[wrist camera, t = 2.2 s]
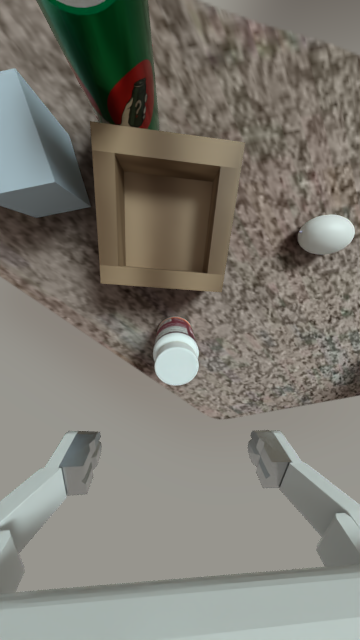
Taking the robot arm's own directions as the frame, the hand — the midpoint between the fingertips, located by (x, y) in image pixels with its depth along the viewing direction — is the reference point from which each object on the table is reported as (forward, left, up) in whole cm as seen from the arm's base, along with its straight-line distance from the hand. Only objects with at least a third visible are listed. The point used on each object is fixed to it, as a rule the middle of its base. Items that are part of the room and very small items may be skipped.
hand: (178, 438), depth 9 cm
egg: (-15, -13, -15) cm, 25 cm away
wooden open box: (+2, -12, -15) cm, 19 cm away
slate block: (+14, -16, -15) cm, 26 cm away
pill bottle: (0, 0, -15) cm, 15 cm away
